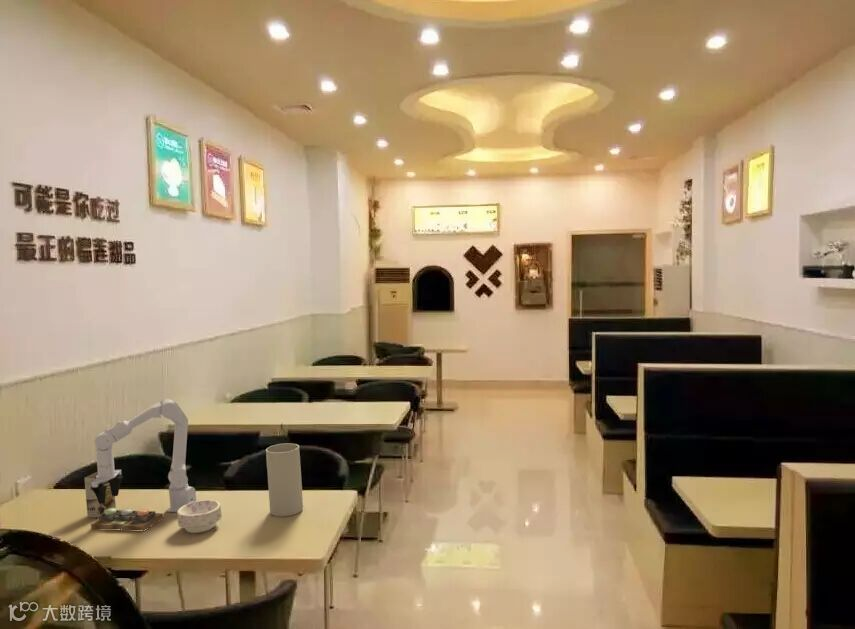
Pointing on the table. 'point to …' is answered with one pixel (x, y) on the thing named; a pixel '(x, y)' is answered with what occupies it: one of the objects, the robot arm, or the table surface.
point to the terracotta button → (143, 513)
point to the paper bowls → (199, 515)
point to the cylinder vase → (284, 479)
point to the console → (126, 521)
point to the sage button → (110, 511)
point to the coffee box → (91, 500)
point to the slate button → (126, 512)
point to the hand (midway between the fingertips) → (108, 499)
